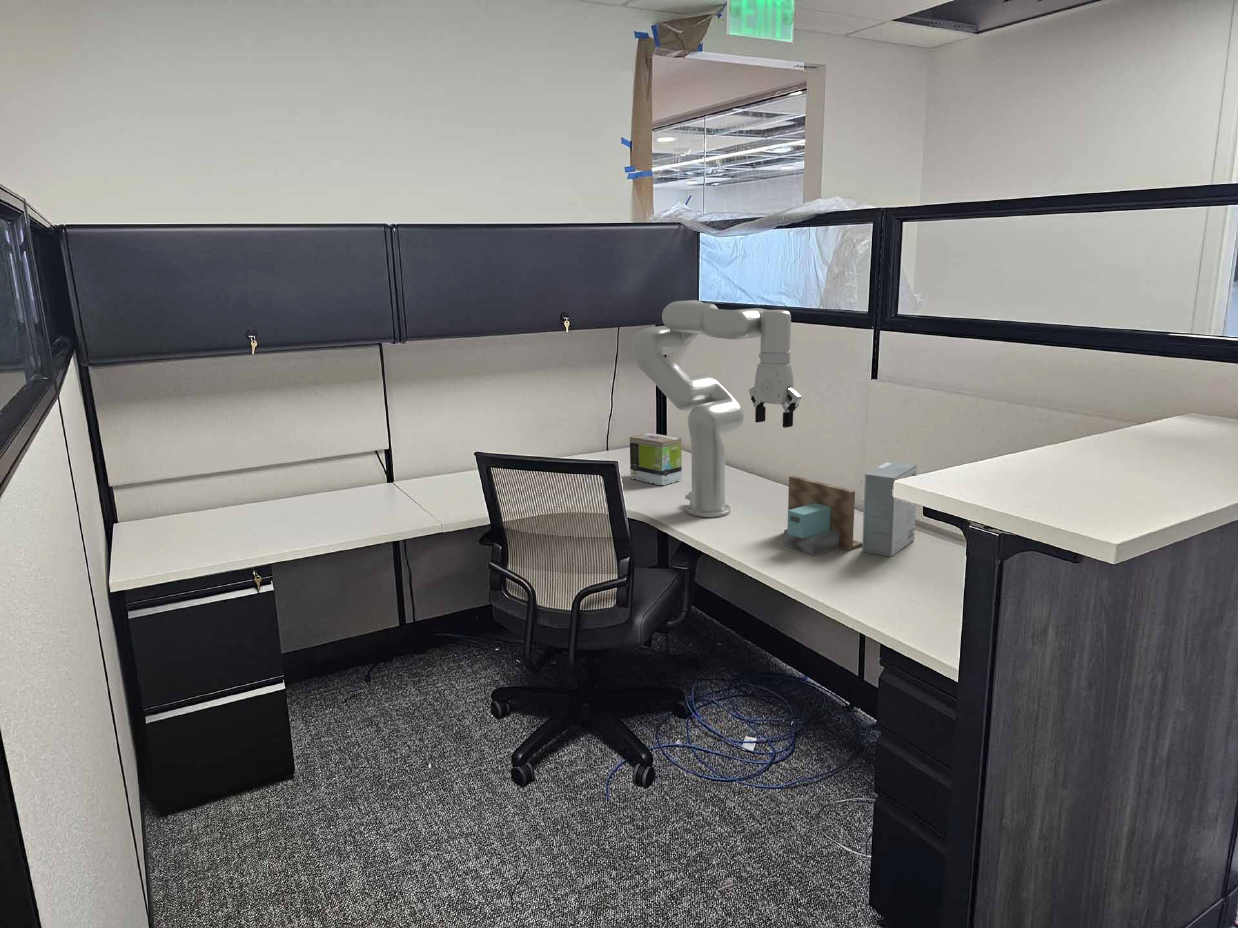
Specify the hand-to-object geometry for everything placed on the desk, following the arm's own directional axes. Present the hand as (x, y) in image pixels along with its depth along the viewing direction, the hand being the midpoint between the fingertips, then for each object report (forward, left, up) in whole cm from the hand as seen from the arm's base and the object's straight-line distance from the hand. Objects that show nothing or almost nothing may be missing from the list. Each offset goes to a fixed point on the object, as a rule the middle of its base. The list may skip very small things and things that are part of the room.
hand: (773, 424), depth 215 cm
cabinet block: (+17, -5, -24) cm, 30 cm away
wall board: (+15, -1, -28) cm, 32 cm away
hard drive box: (+29, +11, -29) cm, 42 cm away
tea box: (-60, +8, -29) cm, 67 cm away
